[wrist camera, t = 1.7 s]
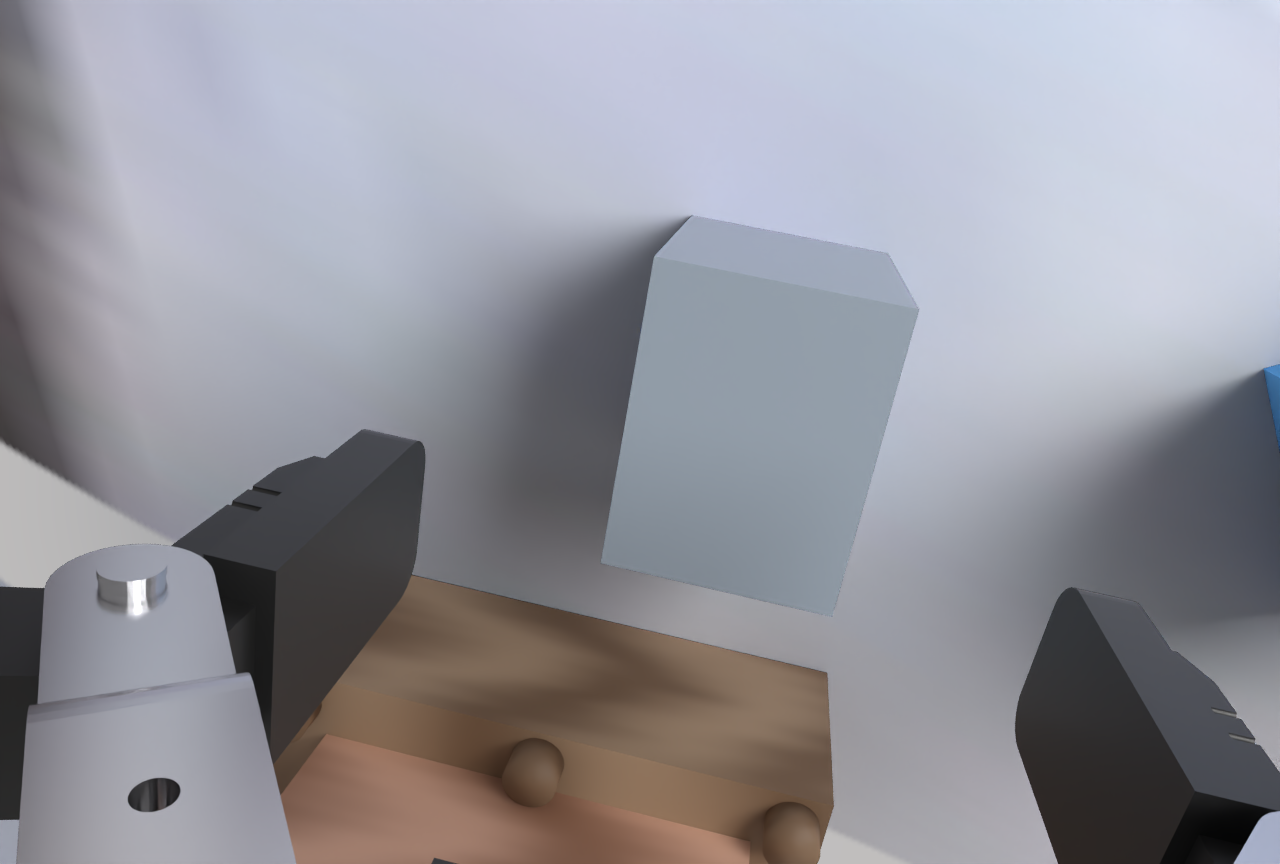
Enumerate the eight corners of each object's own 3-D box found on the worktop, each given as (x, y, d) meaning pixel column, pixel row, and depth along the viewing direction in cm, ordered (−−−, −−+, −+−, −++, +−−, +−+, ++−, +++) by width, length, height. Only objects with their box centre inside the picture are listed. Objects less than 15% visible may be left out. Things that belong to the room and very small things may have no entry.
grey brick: (887, 253, 21) (919, 309, 15) (824, 492, 23) (832, 616, 18) (692, 214, 21) (654, 256, 16) (648, 453, 24) (600, 563, 18)
